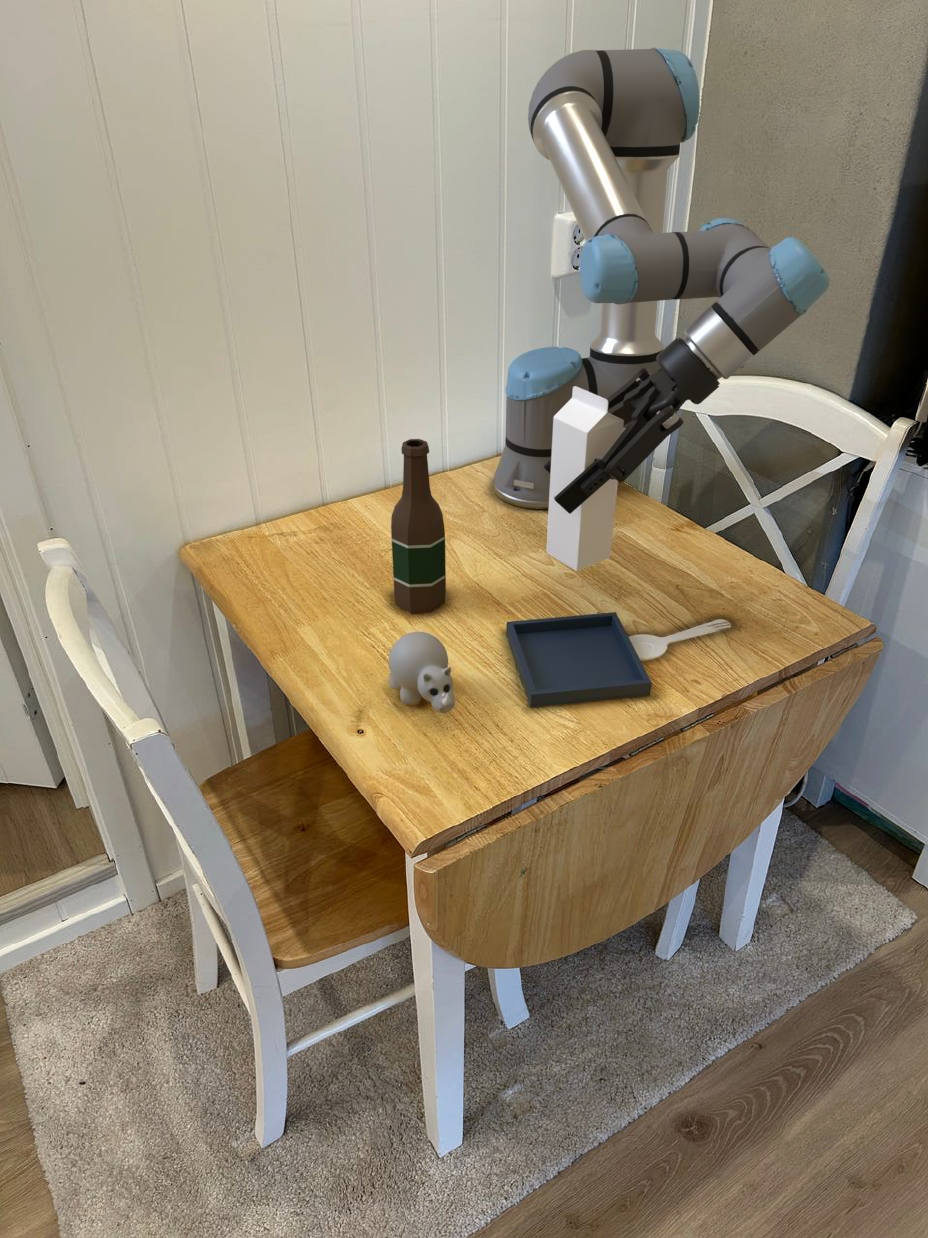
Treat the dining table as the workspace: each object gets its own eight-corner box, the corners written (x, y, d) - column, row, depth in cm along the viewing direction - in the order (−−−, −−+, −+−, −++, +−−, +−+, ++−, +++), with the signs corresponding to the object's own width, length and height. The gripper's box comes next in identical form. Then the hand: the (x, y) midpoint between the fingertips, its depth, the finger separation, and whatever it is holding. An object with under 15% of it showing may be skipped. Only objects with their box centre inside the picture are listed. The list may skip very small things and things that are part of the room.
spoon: (740, 634, 129) (741, 631, 129) (628, 667, 123) (628, 664, 123) (716, 614, 133) (717, 611, 133) (606, 645, 127) (606, 642, 127)
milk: (576, 572, 121) (588, 406, 108) (545, 553, 125) (553, 391, 112) (611, 557, 124) (627, 394, 111) (579, 538, 128) (591, 379, 115)
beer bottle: (454, 590, 138) (453, 434, 124) (436, 619, 132) (433, 459, 118) (404, 581, 140) (397, 427, 126) (384, 609, 134) (375, 451, 120)
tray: (506, 634, 129) (506, 621, 128) (614, 624, 131) (615, 611, 129) (530, 708, 116) (531, 694, 115) (650, 695, 118) (652, 682, 117)
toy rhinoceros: (418, 742, 111) (416, 685, 106) (381, 683, 120) (378, 628, 115) (474, 725, 113) (474, 668, 109) (434, 669, 122) (433, 614, 118)
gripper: (749, 414, 103) (591, 549, 111) (696, 350, 120) (563, 471, 129) (708, 368, 100) (548, 510, 108) (659, 309, 117) (525, 435, 125)
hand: (556, 489), depth 118 cm, fingers closed on milk, 8 cm apart
